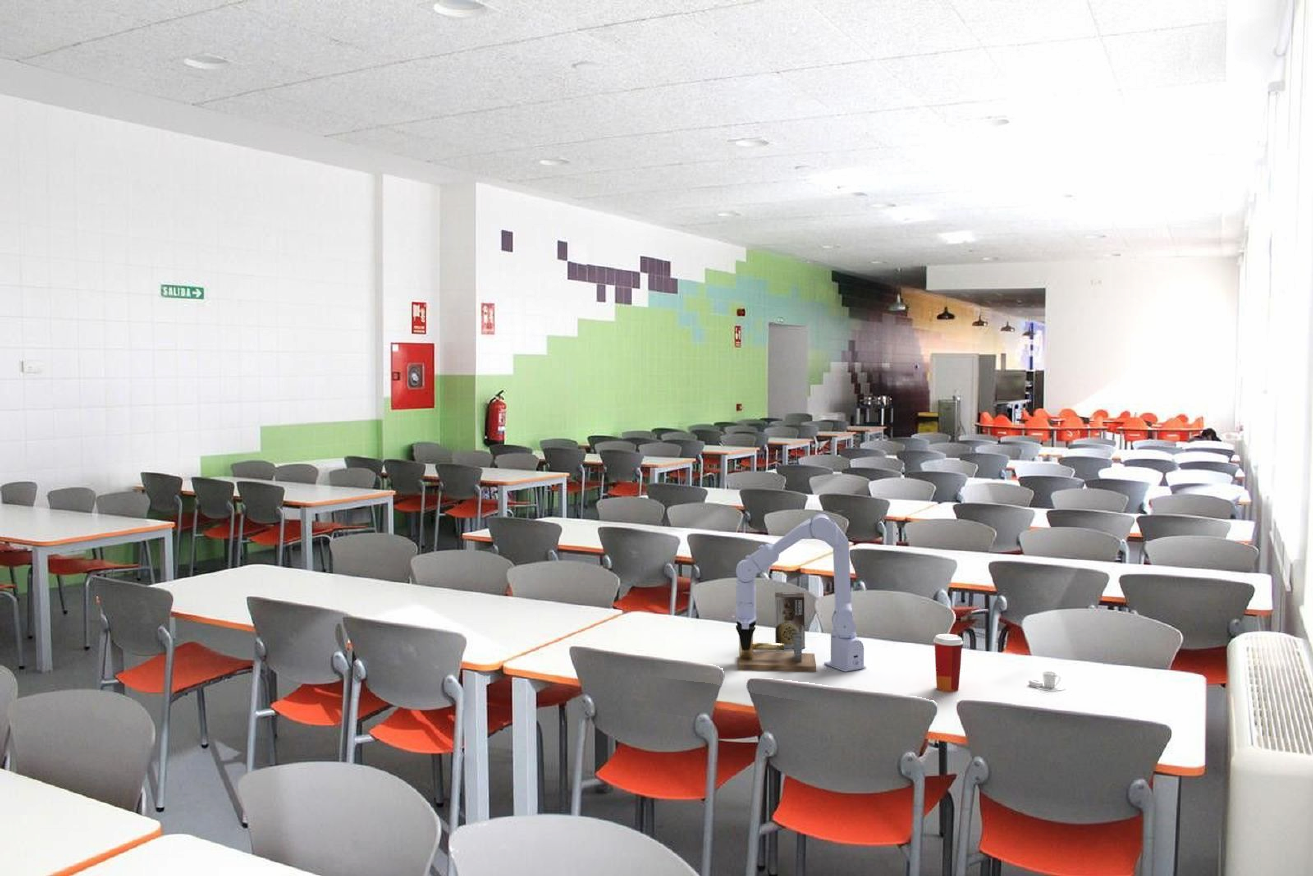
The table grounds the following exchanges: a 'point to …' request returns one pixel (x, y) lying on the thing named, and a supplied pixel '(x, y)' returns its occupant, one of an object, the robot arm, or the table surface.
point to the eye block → (781, 660)
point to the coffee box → (789, 618)
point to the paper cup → (948, 661)
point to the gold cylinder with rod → (758, 648)
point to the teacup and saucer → (1047, 681)
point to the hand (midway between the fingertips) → (745, 648)
